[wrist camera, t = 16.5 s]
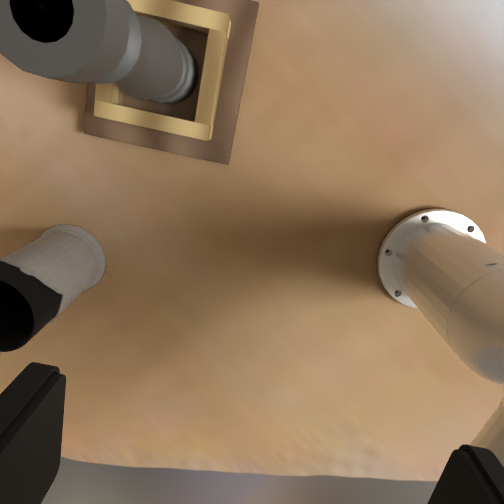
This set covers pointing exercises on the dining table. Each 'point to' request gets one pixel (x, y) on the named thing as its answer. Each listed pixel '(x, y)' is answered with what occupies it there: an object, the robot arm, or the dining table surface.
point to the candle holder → (97, 47)
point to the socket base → (207, 89)
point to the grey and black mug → (45, 281)
